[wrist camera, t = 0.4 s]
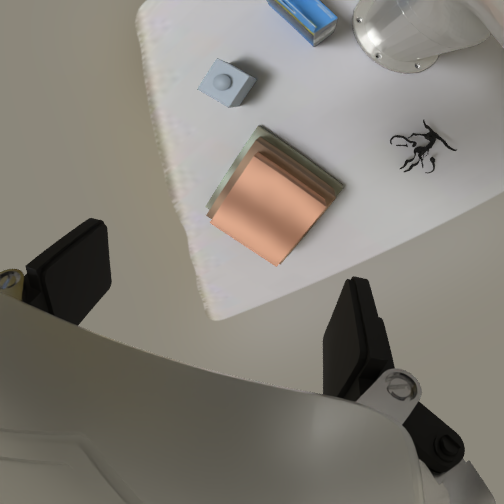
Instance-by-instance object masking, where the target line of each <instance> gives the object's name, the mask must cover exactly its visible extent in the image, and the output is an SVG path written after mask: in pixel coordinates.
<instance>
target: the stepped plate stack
mask: <svg viewBox="0 0 504 504" xmlns="http://www.w3.org/2000/svg"><path fill="white" fill-rule="evenodd" d="M343 188H344V187H343V185H342V184H341V183H340V182H338V181H337V180H336V179H334V178H333V177H332V176H330V175H329V174H328V173H326V172H325V171H324V170H322V169H321V168H320V167H318V166H317V165H316V164H314V163H313V162H312V161H310V160H309V159H307V158H306V157H305V156H303V155H302V154H300V153H299V152H298V151H296V150H295V149H293V148H292V147H290V146H289V145H288V144H286V143H285V142H283V141H282V140H280V139H279V138H277V137H276V136H274V135H273V134H271V133H270V132H268V131H267V130H265V129H264V128H262V127H261V126H258V127H257V128H256V130H255V131H254V133H253V134H252V136H251V137H250V138H249V140H248V141H247V143H246V144H245V146H244V147H243V149H242V150H241V152H240V153H239V155H238V156H237V158H236V160H235V161H234V163H233V164H232V166H231V167H230V169H229V170H228V172H227V173H226V175H225V176H224V178H223V180H222V181H221V183H220V184H219V186H218V187H217V189H216V191H215V192H214V194H213V195H212V197H211V199H210V200H209V202H208V203H207V205H206V208H208V209H209V212H208V213H207V215H206V216H208V217H209V218H211V219H212V220H211V221H210V223H211V224H212V225H214V226H215V227H217V228H218V229H220V230H222V231H223V232H225V233H226V234H228V235H229V236H231V237H232V238H234V239H235V240H237V241H238V242H240V243H241V244H243V245H244V246H246V247H247V248H249V249H250V250H252V251H253V252H255V253H256V254H258V255H259V256H261V257H262V258H264V259H265V260H267V261H269V262H270V263H272V264H273V265H275V266H276V267H277V266H278V264H281V263H282V262H283V261H284V260H285V258H286V257H287V256H288V255H289V254H290V252H291V251H292V250H293V249H294V248H295V247H296V245H297V244H298V243H299V242H300V241H301V239H302V238H303V237H304V236H305V235H306V234H307V232H308V231H309V230H310V229H311V228H312V226H313V225H314V224H315V223H316V222H317V220H318V219H319V218H320V217H321V216H322V214H323V213H324V212H325V211H326V209H327V208H328V207H329V206H330V205H331V203H332V202H333V201H334V200H335V199H336V196H337V195H338V194H339V193H340V191H341V190H342V189H343Z"/></svg>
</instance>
